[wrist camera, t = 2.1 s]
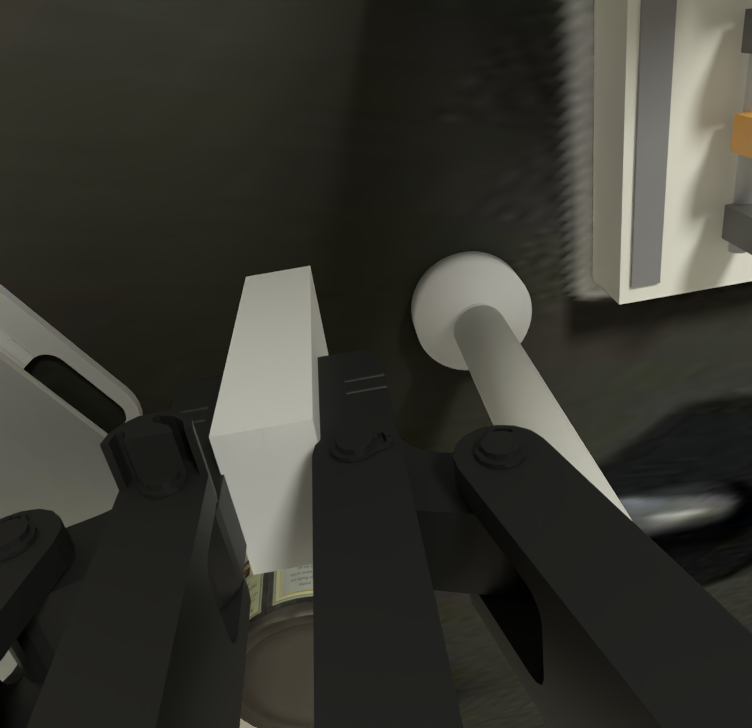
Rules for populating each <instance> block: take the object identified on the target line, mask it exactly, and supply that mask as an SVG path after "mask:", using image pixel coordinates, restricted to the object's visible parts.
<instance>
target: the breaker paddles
mask: <svg viewBox="0 0 752 728" xmlns="http://www.w3.org/2000/svg"><path fill="white" fill-rule="evenodd" d="M741 53H749V62H748V71H747V80H746V89H745V98H744V107H743V112H740V113H735V114H734V124H733V133H732V143H731V152H734V153H737V154H738V161H737V170H736V180H735V189H734V198H733V203H732V204H727V205H725V210H724V219H723V229H722V239H724V240H726V241H728V242H729V243H728V251H729V252H731V253H746V252H747V253H749V254H751V255H752V8H749V9H745V18H744V28H743V38H742V47H741Z"/></svg>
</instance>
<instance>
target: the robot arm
mask: <svg viewBox="0 0 752 728" xmlns="http://www.w3.org/2000/svg"><path fill="white" fill-rule="evenodd" d="M100 447H101V449H102V452H103V454H104V456H105V459H106V461H107V463H108V466H109V468H110V470H111V473H112V475H113V478H114V480H115V482H116V485H117V487H118V489H119V492H118V494H117V497H116V500H115V502H114V505H113V507H112V509H111V510H109V511H107V512H104V513H102V514H100V515H98V516H95V517H93V518H90V519H87V520H85V521H82V522H80V523H77V524H74V525H72V526H69V527H67V528H65V526H64V524H63V522H62V520H61V518H60V517H59V516H58V515H57V514H56V513H55V512H54V511H51V510H45V509H33V510H27V511H21V512H18V513H14V514H12V515H9V516H6V517H4V518H1V519H0V661H1V660H2V659H3V657H4V656H5V654H6V653H7V652H8V650H9V651H10V653H11V655H12V656H13V658H14V659H15V661H16V663H17V666H16V667H15V669H14V670H13V672H12V673H11V674H10V675H9V676H8V677H7V678H6V679H5V680H4V681H3V682H2V681H1V680H0V728H239V726H240V715H241V704H242V693H243V682H244V671H245V660H246V649H247V638H248V627H249V616H250V605H251V598H250V592H249V588H248V585H247V582H246V579H245V576H244V566H245V557H246V553H247V557H248V560H249V563H250V566H251V569H252V572H253V575H256V574H261V573H267V572H273V571H278V570H284V569H289V568H295V567H301V566H306V565H312V564H313V644H314V728H463V724H462V719H461V715H460V710H459V706H458V701H457V696H456V692H455V687H454V683H453V678H452V673H451V669H450V664H449V660H448V655H447V651H446V646H445V641H444V637H443V632H442V628H441V623H440V618H439V614H438V609H437V605H436V600H435V595H434V591H433V590H439V591H449V592H460V593H469V595H470V598H471V601H472V604H473V605H474V607H475V609H476V610H477V612H478V613H479V615H480V617H481V618H482V620H483V622H484V623H485V625H486V626H487V628H488V630H489V631H490V633H491V634H492V636H493V638H494V639H495V641H496V642H497V644H498V646H499V647H500V649H501V651H502V652H503V654H504V655H505V657H506V659H507V660H508V662H509V663H510V665H511V667H512V668H513V670H514V672H515V673H516V675H517V676H518V678H519V680H520V681H521V683H522V684H523V686H524V688H525V689H526V691H527V692H528V694H529V696H530V697H531V699H532V701H533V702H534V704H535V705H536V707H537V709H538V710H539V712H540V713H541V715H542V717H543V718H544V720H545V722H546V723H547V725H548V726H549V728H752V633H751V632H749V631H748V630H747V629H746V628H745V627H744V626H743V625H742V624H741V623H740V622H739V621H738V620H737V619H736V618H735V617H734V616H732V615H731V614H730V613H729V612H728V611H727V610H726V609H725V608H724V607H723V606H722V605H721V604H720V603H719V602H718V601H716V600H715V599H714V598H713V597H712V596H711V595H710V594H709V593H708V592H707V591H706V590H705V589H704V588H703V587H702V586H701V585H699V584H698V583H697V582H696V581H695V580H694V579H693V578H692V577H691V576H690V575H689V574H688V573H687V572H686V571H685V570H684V569H682V568H681V567H680V566H679V565H678V564H677V563H676V562H675V561H674V560H673V559H672V558H671V557H670V556H669V555H668V554H666V553H665V552H664V551H663V550H662V549H661V548H660V547H659V546H658V545H657V544H656V543H655V542H654V541H653V540H652V539H651V538H649V537H648V536H647V535H646V534H645V533H644V532H643V531H642V530H641V529H640V528H639V527H638V526H637V525H636V524H635V523H634V522H632V521H631V520H630V519H629V518H628V517H627V516H626V515H625V514H624V513H623V512H622V511H621V510H620V509H619V508H618V507H616V506H615V505H614V504H613V503H612V502H611V501H610V500H609V499H608V498H607V497H606V496H605V495H604V494H603V493H602V492H601V491H599V490H598V489H597V488H596V487H595V486H594V485H593V484H592V483H591V482H590V481H589V480H588V479H587V478H586V477H585V476H584V475H582V474H581V473H580V472H579V471H578V470H577V469H576V468H575V467H574V466H573V465H572V464H571V463H570V462H569V461H568V460H566V459H565V458H564V457H563V456H562V455H561V454H560V453H559V452H558V451H557V450H556V449H555V448H554V447H553V446H552V445H551V444H549V443H548V442H547V441H546V440H545V439H544V438H543V437H541V436H540V435H538V434H537V433H535V432H533V431H532V430H530V429H526V428H522V427H518V426H515V425H494V426H489V427H484V428H479V429H477V430H475V431H473V432H471V433H469V434H467V435H465V436H464V437H463V438H462V439H461V440H460V441H459V442H458V443H457V444H456V445H455V449H454V453H439V452H430V451H425V450H421V449H418V448H415V447H413V446H411V445H409V444H408V443H406V442H405V441H404V440H403V439H402V438H401V437H400V436H399V434H398V432H397V429H396V425H395V420H394V416H393V411H392V406H391V402H390V397H389V393H388V388H387V384H386V379H385V375H384V370H383V365H382V361H381V358H379V357H378V356H377V355H376V354H374V353H373V352H372V351H371V350H369V349H362V350H356V351H350V352H345V353H339V354H333V355H328V350H327V345H326V341H325V336H324V331H323V326H322V321H321V316H320V311H319V306H318V302H317V297H316V292H315V287H314V282H313V277H312V272H311V267H310V266H305V267H300V268H294V269H288V270H282V271H276V272H271V273H265V274H259V275H253V276H247V277H246V278H245V283H244V287H243V291H242V296H241V300H240V304H239V309H238V313H237V317H236V322H235V326H234V330H233V335H232V339H231V343H230V348H229V352H228V356H227V361H226V365H225V369H224V374H223V376H218V377H212V378H207V379H201V380H195V381H190V382H188V383H187V384H186V385H185V386H184V387H183V389H182V390H181V391H180V392H179V393H178V394H177V395H176V396H175V397H174V399H173V402H172V405H171V407H170V410H169V411H157V412H152V413H149V414H145V415H141V416H138V417H136V418H134V419H131V420H129V421H127V422H125V423H123V424H121V425H120V426H118V427H117V428H115V429H114V430H113V431H111V432H110V433H109V434H108V435H107V436H106V437H105V438H104V440H103V441H102V442H101V444H100Z"/></svg>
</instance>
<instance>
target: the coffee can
mask: <svg viewBox="0 0 752 728" xmlns="http://www.w3.org/2000/svg"><path fill="white" fill-rule="evenodd" d="M244 576H245V579H246V582H247V585H248V588H249V592H250V598H251V605H250V616H249V627H248V638H247V649H246V660H245V671H244V682H243V693H242V704H241V715H240V718H241V719H243V720H244V721H246V722H248V723H249V724H251V725H252V726H254V727H257V728H314V644H313V564H312V565H306V566H301V567H295V568H289V569H284V570H278V571H273V572H267V573H261V574H256V575H253V572H252V569H251V566H250V563H249V560H248V557H247V553H246V557H245V566H244Z"/></svg>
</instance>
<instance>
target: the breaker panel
mask: <svg viewBox="0 0 752 728" xmlns="http://www.w3.org/2000/svg"><path fill="white" fill-rule="evenodd" d="M749 8H752V0H594V143H593V280H594V281H595V282H596V283H597V284H598V285H599V286H600V287H601V288H602V289H603V290H604V291H605V292H606V293H607V294H609V295H610V296H611V297H612V298H613V299H614V300H615V301H616V302H617V303H618V304H619V305H621V304H626V303H632V302H637V301H643V300H649V299H654V298H660V297H665V296H671V295H677V294H682V293H688V292H693V291H699V290H705V289H710V288H716V287H721V286H727V285H733V284H738V283H744V282H749V281H752V255H751V254H749V253H747V252H746V253H731V252H729V251H728V243H729V242H728V241H726V240H724V239H722V229H723V219H724V210H725V205H727V204H732V203H733V198H734V189H735V180H736V170H737V161H738V154H737V153H734V152H731V143H732V133H733V124H734V114H735V113H740V112H743V107H744V98H745V89H746V80H747V71H748V62H749V53H741V47H742V38H743V28H744V18H745V9H749Z"/></svg>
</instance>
